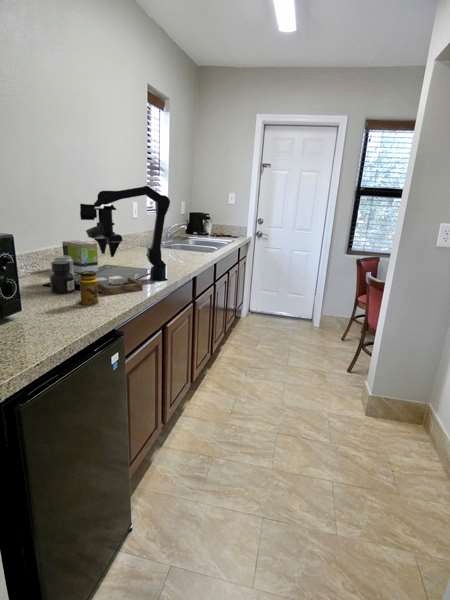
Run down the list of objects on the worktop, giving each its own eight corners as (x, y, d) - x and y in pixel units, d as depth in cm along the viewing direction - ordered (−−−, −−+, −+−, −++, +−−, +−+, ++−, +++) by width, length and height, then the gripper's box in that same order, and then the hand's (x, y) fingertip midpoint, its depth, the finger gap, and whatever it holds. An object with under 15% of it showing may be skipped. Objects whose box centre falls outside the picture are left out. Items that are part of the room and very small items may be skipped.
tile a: (119, 282, 163) (118, 275, 162) (124, 284, 159) (123, 278, 158) (108, 283, 159) (108, 277, 159) (113, 285, 156) (113, 279, 155)
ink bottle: (75, 293, 140) (73, 264, 137) (51, 295, 137) (48, 265, 133) (74, 287, 149) (72, 259, 145) (50, 289, 145) (48, 260, 141)
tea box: (99, 271, 181) (97, 242, 176) (82, 274, 173) (80, 244, 168) (80, 267, 188) (78, 239, 184) (63, 269, 180) (61, 240, 176)
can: (67, 285, 151) (65, 258, 147) (52, 284, 152) (49, 256, 149) (77, 282, 158) (76, 255, 155) (63, 280, 159) (60, 254, 156)
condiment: (98, 306, 127) (96, 274, 123) (73, 307, 125) (71, 274, 121) (100, 300, 133) (99, 270, 130) (76, 301, 131) (74, 269, 128)
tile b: (103, 283, 158) (103, 277, 157) (108, 286, 155) (108, 279, 154) (92, 285, 155) (92, 278, 154) (97, 287, 151) (97, 281, 151)
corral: (129, 284, 159) (129, 277, 158) (142, 290, 150) (142, 283, 150) (94, 288, 149) (94, 281, 148) (106, 295, 140) (106, 288, 139)
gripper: (79, 218, 156) (81, 253, 160) (97, 222, 143) (99, 260, 147) (103, 218, 163) (105, 251, 168) (122, 221, 150) (123, 257, 155)
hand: (107, 255), depth 159 cm, fingers open, 9 cm apart
